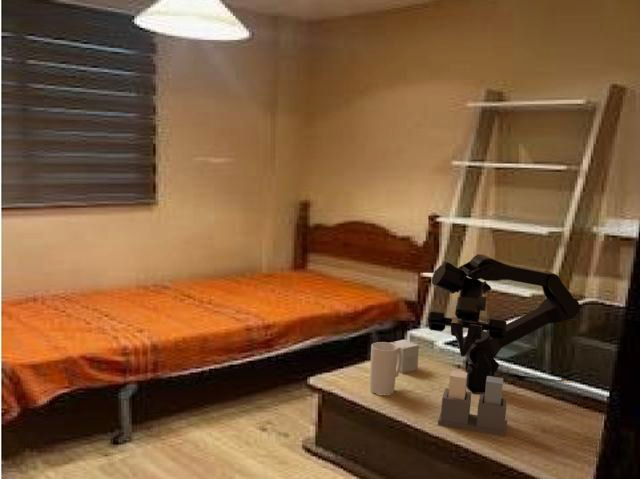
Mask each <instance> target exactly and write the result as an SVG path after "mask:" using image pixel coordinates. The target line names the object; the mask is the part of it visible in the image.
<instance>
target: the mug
mask: <svg viewBox="0 0 640 479" xmlns="http://www.w3.org/2000/svg"><path fill="white" fill-rule="evenodd" d="M370 348H371V349H370V368H369V369H370V373H369V374H370V375H369V377H370V378H369V391H370V392H371V393H372V392H373V393H372V394H374V393H376V394H385V395H386V396H389V395H388V394H391V395H393V394H394V393H395V386H396V378H398V377H399V374H400V373H401V372H400V368H401V364H402V353H401V350H400V347H399V346H397V345H395V344H392V343H390V342H386V341H380V342H379V341H377V342H374V343H372V344H371V347H370ZM397 355H398V364H397ZM396 365H397V367H396ZM376 394H375V395H376Z"/></svg>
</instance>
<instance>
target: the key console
mask: <svg viewBox="0 0 640 479" xmlns="http://www.w3.org/2000/svg"><path fill="white" fill-rule="evenodd" d="M448 394H449V387H445V388H444V391H443V395H442V398H441V410H440V413H439V417H438V419H437V420H438V421H437V425H439V426H446V427H450V428H456V429H463V430H468V431H474V432H479V433H484V434H489V435H495V436H501V437H507V429H508V427H507V426H508V420H507V419H506V415H507V414H506V413H507V404H508V403H507V402H508V397H504V396H502V398H501V406H499V405H492V404H486V403H484V399H485V393H479V399H478V404H477V414H471V412H470V411H471V401H472V392H471V391H467V390H466V397H465V400H462V399H456V398H450V397H448Z"/></svg>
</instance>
